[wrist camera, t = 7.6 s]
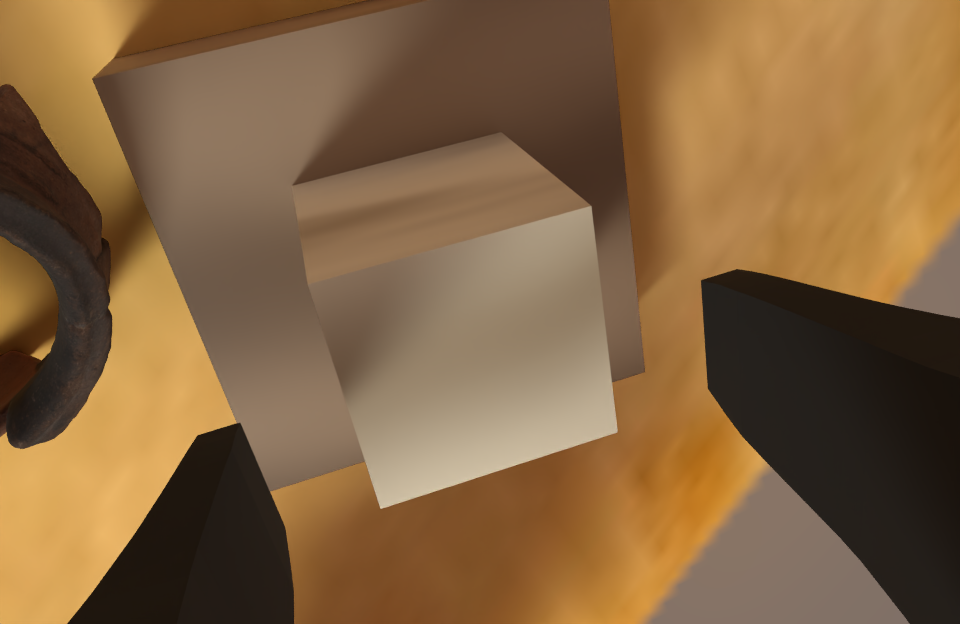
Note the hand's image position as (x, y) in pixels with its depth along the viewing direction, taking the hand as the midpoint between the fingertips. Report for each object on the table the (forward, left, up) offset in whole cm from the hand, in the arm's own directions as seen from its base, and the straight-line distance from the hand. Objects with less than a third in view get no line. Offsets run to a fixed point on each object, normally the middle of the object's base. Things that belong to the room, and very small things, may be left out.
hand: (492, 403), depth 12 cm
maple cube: (0, 0, -6) cm, 6 cm away
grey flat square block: (0, 0, -9) cm, 9 cm away
